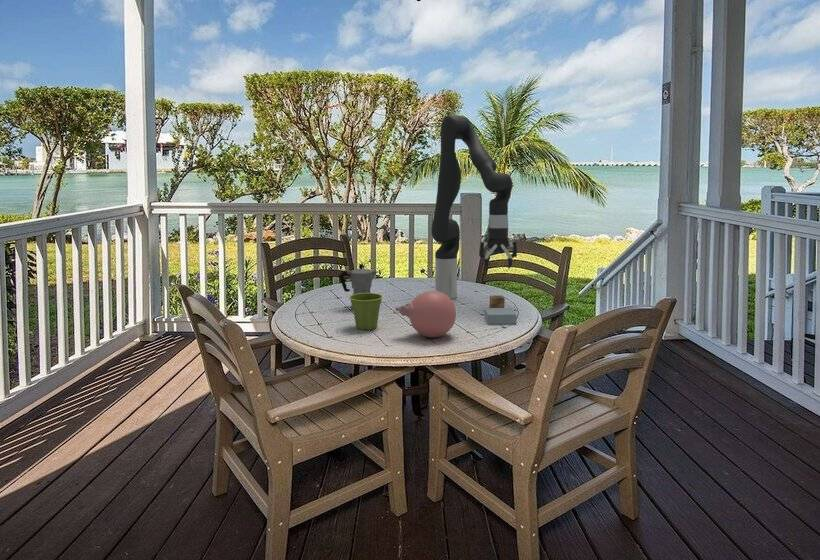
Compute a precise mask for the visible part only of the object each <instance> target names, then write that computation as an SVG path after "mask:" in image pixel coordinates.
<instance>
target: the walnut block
mask: <svg viewBox="0 0 820 560" xmlns="http://www.w3.org/2000/svg"><path fill="white" fill-rule="evenodd" d="M505 300H506V299H505V297H504V295H499V294H497V295H489V308H505V304H506V303H505V302H506V301H505Z"/></svg>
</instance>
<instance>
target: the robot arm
mask: <svg viewBox="0 0 820 560" xmlns="http://www.w3.org/2000/svg"><path fill="white" fill-rule="evenodd" d="M457 140H461V141H462V142H463V144H465V145H466V146H467V148H468V150H469V158H470V161H471V163H472V164H473V166H474V168H476V170H477V171H478V173H479V175H480V177H481V179H482V183H483V185H484V187H485V189H487V191H489V192H491V193H495V197H494V198H493V199H490V201H489V204H488V205H489V206H488V212H489V214H488V224H487V225H488V226H487V227H488V235H487V241H480V242H479V248H478V251H479V253H478V256H479V257H480V258H482V259H483V266H484V268H485V269H486V270H488V269H489V257H490V256H491V255H492V254H493V253H494V254H497V253H499V254H503V253H504V254H505V255H506V257H507V263H506V265H507V269H511V267H512V265H513V258H516V257H517V256H518V252H517V251H518V248H517V245H518V244H517V242H516V241H515V240H512V241H509V215H508V214H509V202H510V197H511V195H512V190H513V179H512V177H511V176H510V174H508V173H505V172H503V173H502V172H500V173H498V172H497V173H496V170H497V168H498V167H497V164H496V162H495V161H494V159H493V158H492V157H491V155H490V154H489V153H488V151H487V150H486V148H485V147H484V146H483V144H482V142H481V140H480V138H479V136H478V134H477V133H476V131H475V128H474V126H473V124H472V122H471V121H470V119H468V117H467V116H463V115H457V114H456V115H455V114H446V115H445V116H444V117H443V119H442V121H441V125H440V159H439V170H438V175H437V176H438V177H437V178H438V179H437V190H436V191H437V192H436V199H435V209H434V212H433V218H432V223H431V236H432V239H433V240H434V241H435V242H436V243H440V244H441V245H440V246H439V248H437V250H436V251H435V253H434V254H435V256H434V257H435V261H434V265H435V267H434V268H435V269H434V272H435V273H434V291H439V292H442V293H444V294H446V295H447V296H448V297H449V298H450V299H451V300H454V299H456V298H457V297H458V252H459V250H460V239H461V229H460V226H459V223H458V222H457V221H456V220H455V219H451V218H450V213H451V209H452V206H453V204H454V203H455V200H456V198H457V197H458V194H459V193H460V189H461V183H462V182H461V180H462V169H461V166H460V164H459V161H458V159H457V156H456V141H457ZM486 246H487V247H488V249H487V251H486V252H485V254H484V249H485V248H486ZM509 246H510V247H511V250H512V253H511V252H510V251H509V250H508V247H509Z"/></svg>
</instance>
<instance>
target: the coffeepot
mask: <svg viewBox="0 0 820 560" xmlns="http://www.w3.org/2000/svg"><path fill="white" fill-rule="evenodd" d="M377 273H378V274H379V271H377V270H373V269H368V268H364V263H360V264H359V268H357V269H352V270H342V271H341V273H340V274H339V276H338V278H339V280H340V283H341V285H342V288H343V291H344V292H350V291H351V289H350V288H348V287H347V283H346V279H345V277H346V276H347V277H350V282H351V283H350V284H351V288H352V290H353V292H352V295H353V294H358V293H372V292H371V288H372V283H373V280H374V278H375V277H376V275H377ZM350 304H351V303H350ZM350 310H352V311H353V307H352V304H351V305H350Z"/></svg>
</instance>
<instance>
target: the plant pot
mask: <svg viewBox="0 0 820 560" xmlns="http://www.w3.org/2000/svg"><path fill="white" fill-rule="evenodd" d="M348 298H349V300H350V304H352V307H353V310H352V311H353V312H352V313H353V316H354V322H355V327H356V329H358V330H360V331H364V330H368V331H371V330H375V329H377V327H378V320H379V314H380V308H381V305H382V304H381V303H382V299H383V298H384V295H383V294H381V293H376V292H371V293H358V294H353V293H352V294H350V295H349V296H348Z"/></svg>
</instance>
